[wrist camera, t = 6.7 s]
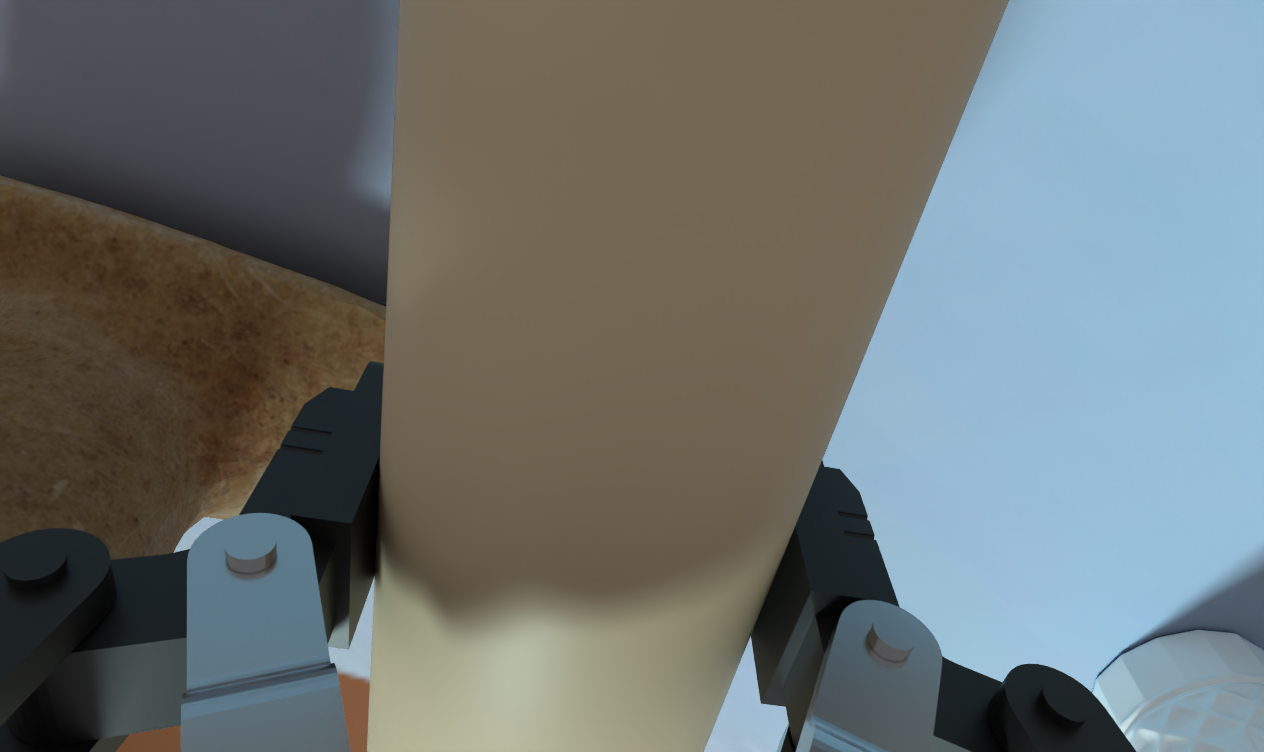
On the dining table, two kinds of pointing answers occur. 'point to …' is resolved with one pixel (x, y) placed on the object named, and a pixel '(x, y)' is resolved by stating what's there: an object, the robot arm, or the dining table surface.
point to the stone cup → (151, 369)
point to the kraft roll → (627, 339)
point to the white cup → (1188, 693)
